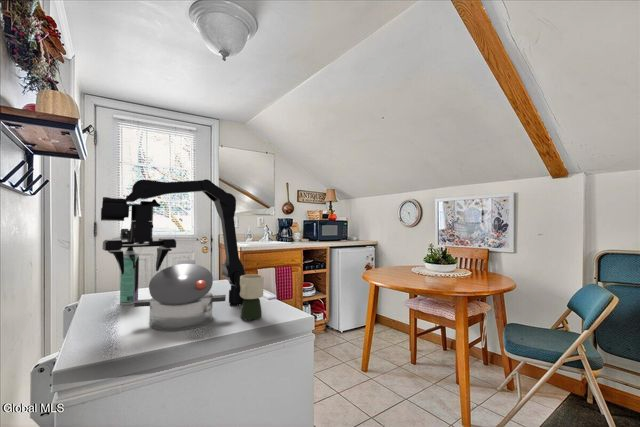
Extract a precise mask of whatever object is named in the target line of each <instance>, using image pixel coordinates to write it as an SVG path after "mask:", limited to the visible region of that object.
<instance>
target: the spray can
mask: <svg viewBox="0 0 640 427" xmlns="http://www.w3.org/2000/svg"><path fill="white" fill-rule="evenodd" d="M123 256H124V274H121V273H120V279H119V280H120V283H119V284H120V288H119V290H120V291H119V305H121V306H130V305H134V303H135V302H136V301H137V300H139V273H140V270H139V269H140V268H139V267H140V255H139V253H138V252H137V251H135V249H134V247H128V248H126V250H125V252H124V251H123Z"/></svg>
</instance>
